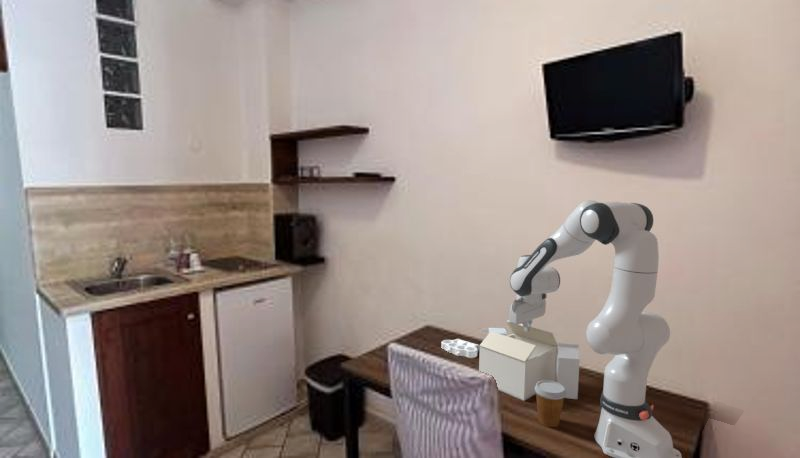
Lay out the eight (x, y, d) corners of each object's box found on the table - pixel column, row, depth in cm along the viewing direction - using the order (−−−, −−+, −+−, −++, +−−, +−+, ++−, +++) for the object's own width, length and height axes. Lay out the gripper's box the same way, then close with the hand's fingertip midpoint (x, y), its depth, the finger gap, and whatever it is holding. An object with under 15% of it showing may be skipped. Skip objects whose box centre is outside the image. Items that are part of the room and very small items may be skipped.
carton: (556, 382, 172) (557, 347, 170) (523, 400, 157) (525, 362, 156) (511, 366, 187) (513, 333, 185) (478, 381, 172) (479, 346, 171)
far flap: (557, 347, 171) (558, 346, 171) (551, 334, 167) (552, 332, 167) (513, 333, 185) (513, 332, 185) (506, 321, 181) (507, 320, 181)
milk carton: (577, 399, 159) (580, 348, 157) (556, 397, 160) (559, 346, 158) (573, 390, 166) (576, 341, 164) (553, 388, 167) (556, 339, 165)
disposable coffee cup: (540, 411, 151) (541, 377, 149) (568, 421, 145) (570, 385, 143) (528, 423, 143) (529, 387, 142) (557, 433, 137) (559, 396, 136)
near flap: (536, 346, 160) (536, 345, 160) (525, 362, 156) (524, 361, 156) (491, 332, 175) (490, 331, 175) (479, 346, 171) (479, 345, 170)
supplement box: (504, 355, 198) (505, 327, 197) (506, 362, 191) (507, 333, 189) (487, 354, 199) (488, 327, 197) (489, 361, 192) (490, 332, 190)
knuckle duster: (486, 352, 203) (468, 361, 192) (453, 342, 215) (435, 350, 204) (486, 344, 203) (469, 354, 192) (453, 335, 214) (435, 343, 203)
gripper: (520, 302, 163) (518, 339, 164) (549, 293, 177) (547, 327, 178) (505, 298, 167) (504, 334, 169) (534, 290, 181) (533, 323, 183)
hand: (526, 331), depth 173 cm, fingers closed
